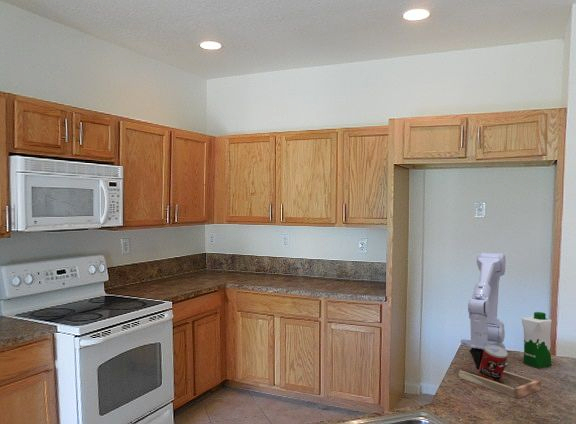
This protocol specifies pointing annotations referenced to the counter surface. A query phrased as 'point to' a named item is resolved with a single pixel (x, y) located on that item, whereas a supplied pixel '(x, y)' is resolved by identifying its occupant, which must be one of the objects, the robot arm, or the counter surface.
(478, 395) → the counter surface
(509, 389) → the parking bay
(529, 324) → the milk carton
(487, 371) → the canned food
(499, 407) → the counter surface
